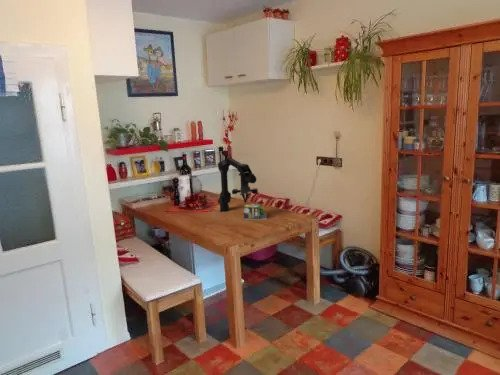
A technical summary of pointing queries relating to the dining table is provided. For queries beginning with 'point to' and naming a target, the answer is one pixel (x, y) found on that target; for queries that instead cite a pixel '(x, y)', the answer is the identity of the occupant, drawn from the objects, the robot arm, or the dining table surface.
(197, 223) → the dining table surface
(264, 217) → the mat
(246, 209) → the chalk box
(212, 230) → the dining table surface
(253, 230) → the dining table surface
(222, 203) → the robot arm
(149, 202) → the dining table surface
